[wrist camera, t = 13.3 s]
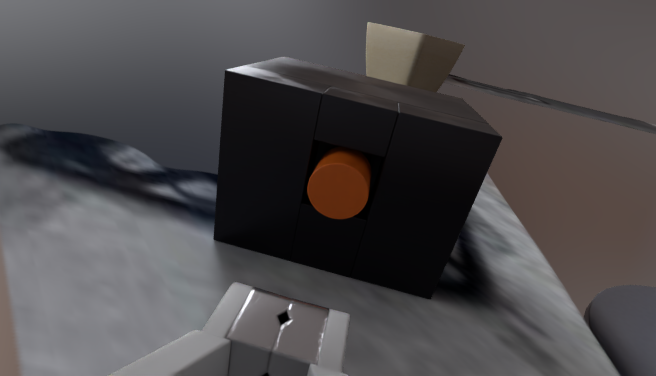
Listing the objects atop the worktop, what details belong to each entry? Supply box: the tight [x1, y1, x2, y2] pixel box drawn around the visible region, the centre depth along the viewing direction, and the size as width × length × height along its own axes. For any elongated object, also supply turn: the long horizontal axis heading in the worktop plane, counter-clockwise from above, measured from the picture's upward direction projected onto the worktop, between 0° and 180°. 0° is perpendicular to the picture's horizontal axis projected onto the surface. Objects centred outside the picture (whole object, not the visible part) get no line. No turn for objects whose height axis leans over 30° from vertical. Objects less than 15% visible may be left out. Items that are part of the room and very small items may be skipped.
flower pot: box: [366, 22, 465, 92], centre depth 93 cm, size 19×19×17 cm
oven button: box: [307, 146, 372, 219], centre depth 21 cm, size 4×3×4 cm
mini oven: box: [214, 57, 502, 299], centre depth 27 cm, size 17×12×12 cm
